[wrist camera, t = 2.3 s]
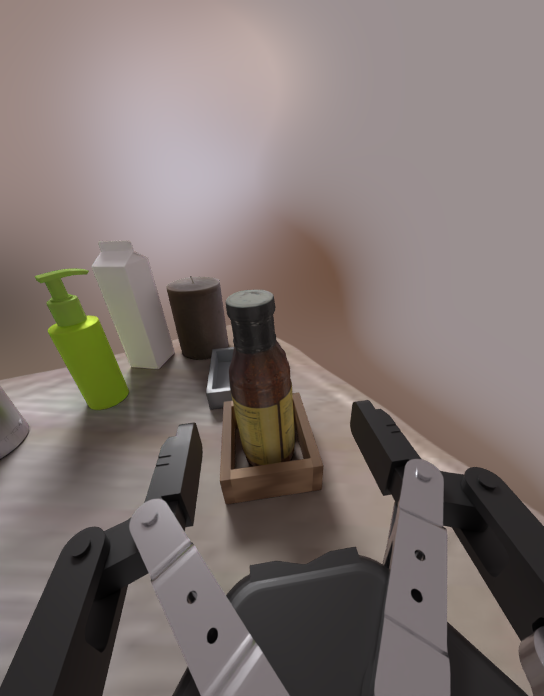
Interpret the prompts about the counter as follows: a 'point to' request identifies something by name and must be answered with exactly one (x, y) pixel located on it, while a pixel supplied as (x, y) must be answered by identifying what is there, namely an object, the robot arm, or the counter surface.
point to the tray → (219, 378)
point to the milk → (133, 304)
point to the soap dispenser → (83, 345)
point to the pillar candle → (198, 315)
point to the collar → (271, 476)
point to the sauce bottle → (260, 380)
